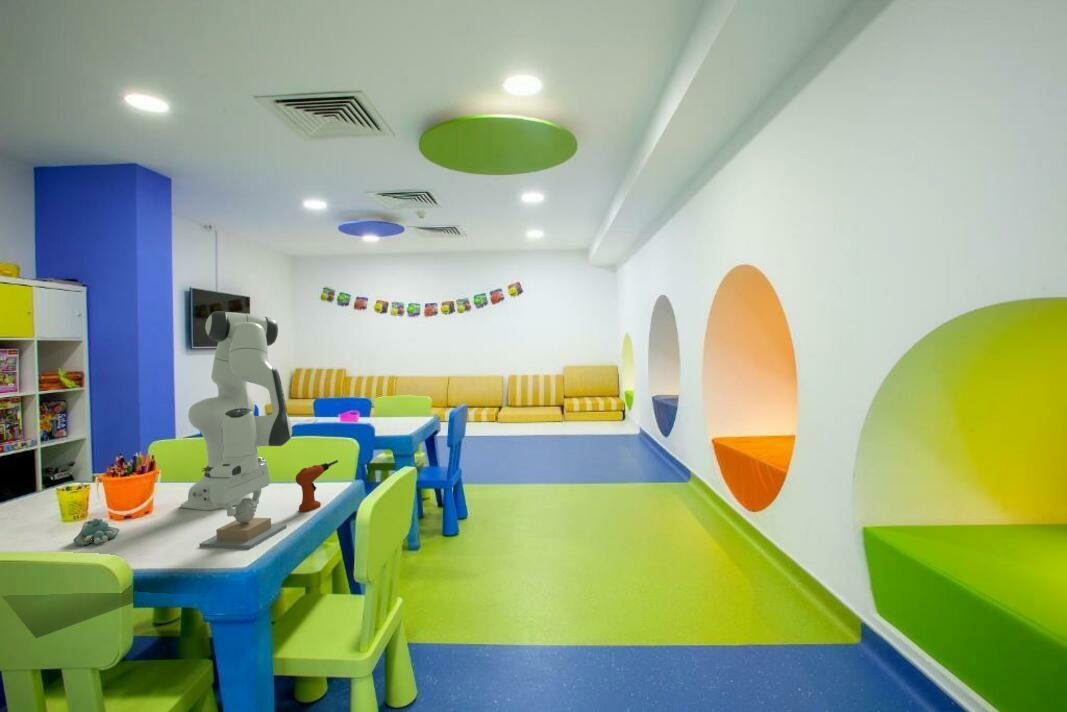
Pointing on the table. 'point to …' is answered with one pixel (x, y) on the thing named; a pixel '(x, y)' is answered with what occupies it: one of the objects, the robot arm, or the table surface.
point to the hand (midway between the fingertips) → (243, 510)
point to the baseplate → (243, 543)
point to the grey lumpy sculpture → (245, 510)
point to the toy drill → (310, 485)
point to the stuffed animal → (95, 532)
